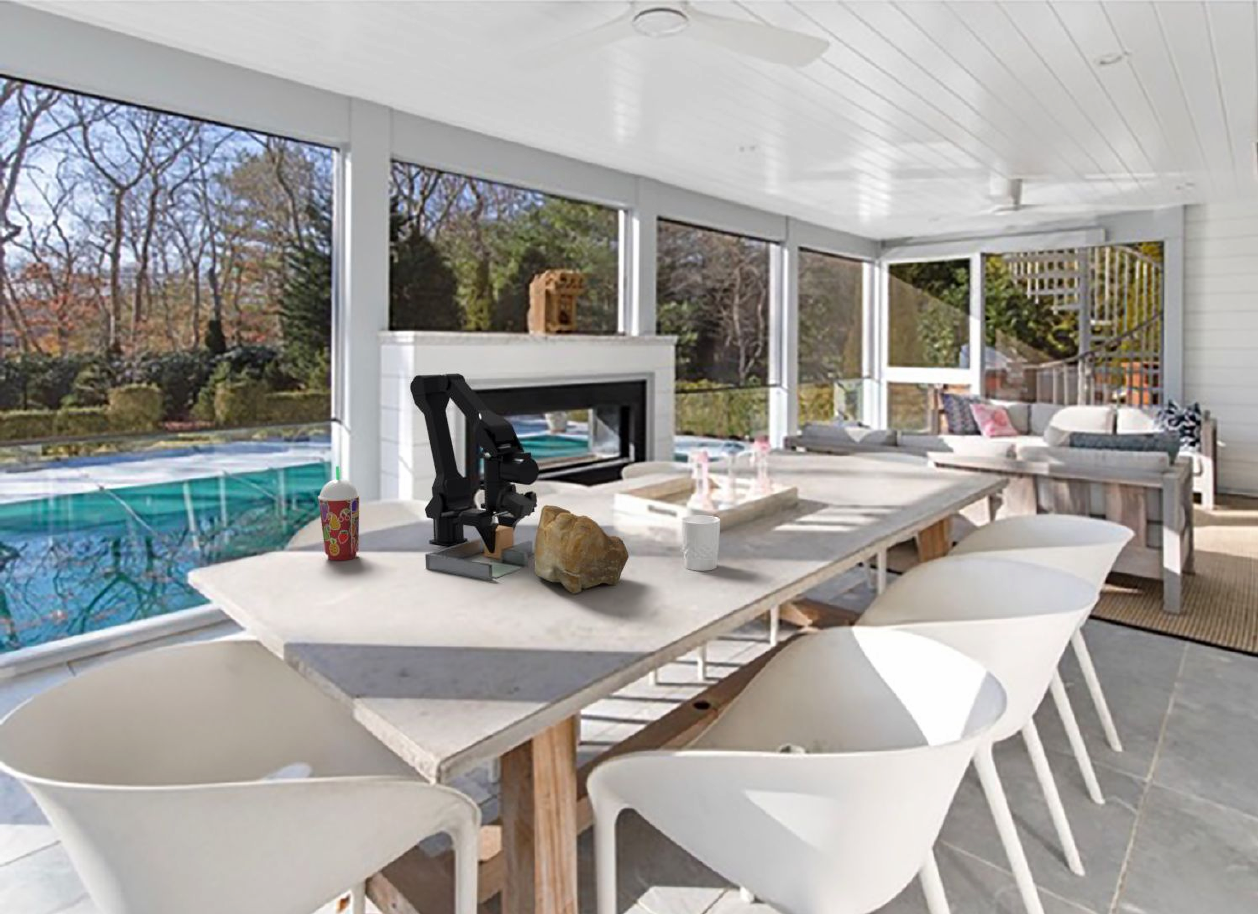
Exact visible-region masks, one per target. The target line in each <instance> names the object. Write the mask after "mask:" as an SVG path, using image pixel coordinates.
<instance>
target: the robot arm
mask: <svg viewBox="0 0 1258 914" xmlns="http://www.w3.org/2000/svg"><path fill="white" fill-rule="evenodd" d="M409 387H410V388H409V389H410V392H411V396H412V399H413V402H414V405H415V406H416V407H417V409H419V411H421V413H422V414H423V417H424V421H425V425H426V430H427V435H428V439H429V440H428V441H429V447H430V451H431V455H432V461H433V466H434V471H435V478H434V480H433V484H432V486H431V494H432V498H431V499H430V500H429V502H428V503H427V505H426V506H425V507H424V511H425V515H426V518H427V519H430V520H432V521H433V524H432V526H433V539H429V540H428V543H429V544H436V545H442V546H447V547H448V546H449V547H451V546H455V545H458V544H461V543H465V542H468V541H469V540H468V537H465V536H464V531H465V530H464V526H468V527H474V528H475V529H476V531H477V532H478V534H479V535H480V538H481V537H482V539H483V541H484V543H485V545H486V547H487V549H488V551H489V552H490V553H494V551H495V531H496V529H497V527H498V526H499V525H500V526H507V527H513V531H514V532H515V529H516V527H517V525H518V524H519V522H520V521H522V520H523V519H525V517H531V514H532V513H535V509H536V508H537V507H538V504H537V502H538V499H537V493H536V492H535V491H533V490H530V491H527V492H525V493H523V492H522V493H519V492H518V491H517V486H516V484H518V485H525V486H531V485H533V484H534V483H536V481H537V479H538V477H539V472H540V468H539V465H538V463H537V461H536V460H535V459H534V458H532V452H531V451H525V449H524V447H523V444H522V443H521V441H520V440H519V437H518V435H517V434H516V431H515V427H514V426H513V425H512V424H511V423H510V422H509V421H508V420H507V419H506V418H505V417H503V416H502V415H499V414H498V413H495V412H493V411H491V410H490V409H489V408H488V407H487V405H486V404H485V403H484V401H482V399H481V398H480V397H479V396H478V394H476V392H475V391H474V390H473V389H472V387H471V386H470V385H469V384H468V383H467V381H466V379H465V377H464V375H463V374H460V373H443V374H440V373H439V374H421V375H420V374H417V375H415V376H414V377H413V379H412V381H411V382H410V385H409ZM450 400H451V401H452V402H453V403H454V405H456V407H457V408H458V410H460V412H461V413H462V414H463V415H464V417H465V418H466V419H467V420H468V421H469V422H470V424H471V426H472V428H473V429H472V435H473V437H474V438H475V440H476V442H477V443H478V445H479V446H480V448H481V451H480V452H479V453H477V455H476V457H477V458H478V459H482V460H483V484H480V485H479V490H480V491H483V492H484V494H483V495H484V502H483V503H480V509H479V508H470V506H471V502H472V494H473V492H472V490H471V486H470V479H469V478H468V476H463V475H462V474H461V473H460V472H459V469H458V465H457V461H456V455H455V450H454V444H453V440H452V437H451V431H450V426H449V420H448V416H447V408H448V404H449V403H450ZM496 519H497V522H496Z"/></svg>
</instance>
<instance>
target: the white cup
mask: <svg viewBox="0 0 1258 914" xmlns="http://www.w3.org/2000/svg"><path fill="white" fill-rule="evenodd" d="M720 528H721V519H720V517H716V516H711V515H702V514H701V515H687V516H684V517H682V518H681V535H682V536H681V539H682V553H683V563H684V564H683V565H684V567H685V569H687V570H692V571H698V572H699V571H701V572H706V571H711V570H715V569H717V568H718V567H717V566H718V555H719V547H720V533H721V532H720V530H721V529H720Z"/></svg>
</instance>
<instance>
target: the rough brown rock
mask: <svg viewBox="0 0 1258 914" xmlns="http://www.w3.org/2000/svg"><path fill="white" fill-rule="evenodd" d="M537 527H538V528H537V532H536V536H535V541H534V572H535V574H536V576H537V577H538V578H540V579H544V580H545V581H548V582H550V583H561V584H562V586H563V587H564V588H565V589H566V590H567V591H568V592H570V593H571V594H573V595H575V594H578V593H580V592H582V589H585V590H586V589H588V588H592V587H595V586H598V585H600V584H607V585H613V586H614V585H617V584H618V583H619V581H620V579H621V577H622V576H621V575H622V572H623V571H624V568H625V566H626V564H627V562H628V560H629V557H630V556H629V552H628V550H627V548H626V544H625V542H624V540H622V539H621V537H619V536H616V535H615V536H614V535H610V534H607V533H606V532H605V531H604V529H603V528H602V527H601V526H600V525H599V523H597V522H596V520H593V519H592V518H591V517H588V516H587V515H579V516H578V515H576V514H575V513H572V512H571V511H570V510H567V509H565V508H562V507H560V506H557V505H548V504H545V505H544V506H543V507H542V508H541V510H540V517H539V522H538V525H537Z"/></svg>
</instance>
